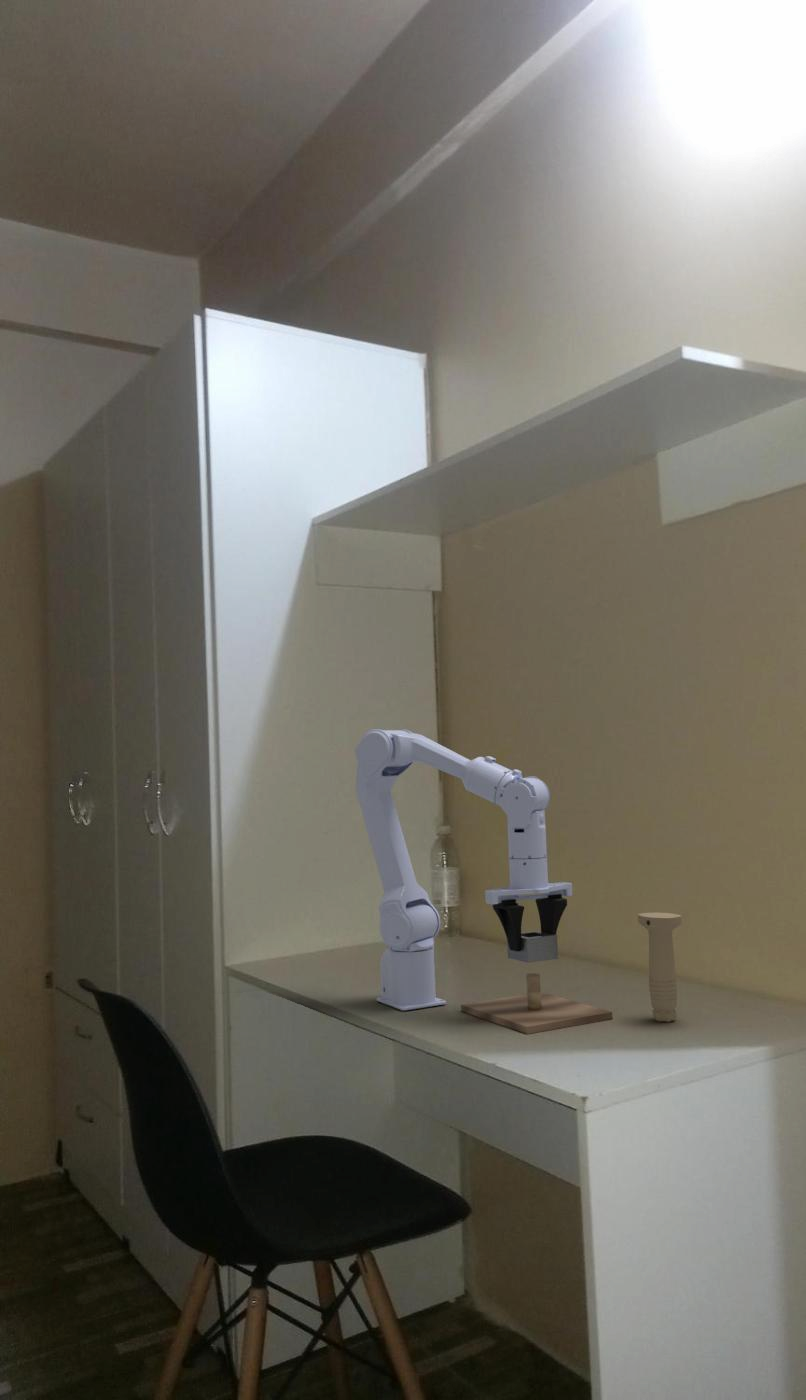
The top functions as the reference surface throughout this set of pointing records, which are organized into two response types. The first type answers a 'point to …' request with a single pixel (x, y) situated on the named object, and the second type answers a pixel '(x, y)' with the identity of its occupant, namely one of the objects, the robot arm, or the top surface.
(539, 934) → the collar
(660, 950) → the handle
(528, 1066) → the top surface
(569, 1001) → the board
